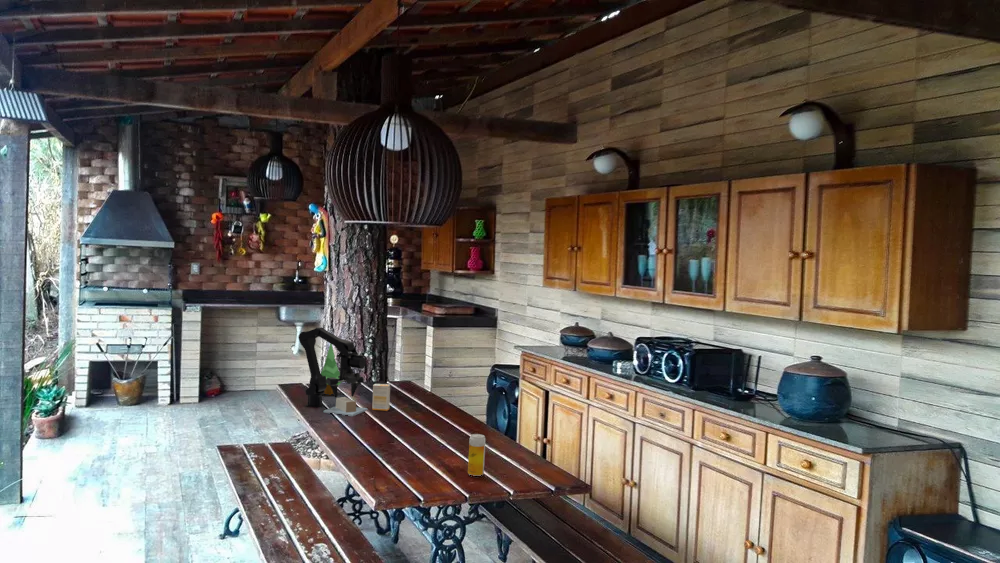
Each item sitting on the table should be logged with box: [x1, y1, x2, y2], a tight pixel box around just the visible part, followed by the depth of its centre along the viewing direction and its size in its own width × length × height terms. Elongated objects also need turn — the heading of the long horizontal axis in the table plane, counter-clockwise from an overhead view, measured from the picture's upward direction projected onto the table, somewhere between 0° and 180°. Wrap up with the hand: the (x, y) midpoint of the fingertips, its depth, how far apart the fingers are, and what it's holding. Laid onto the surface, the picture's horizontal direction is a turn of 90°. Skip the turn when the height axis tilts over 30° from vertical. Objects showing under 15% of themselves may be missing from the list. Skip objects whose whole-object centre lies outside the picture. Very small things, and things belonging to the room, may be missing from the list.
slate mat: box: [323, 405, 369, 417], centre depth 367 cm, size 16×16×1 cm
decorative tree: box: [320, 343, 343, 396], centre depth 406 cm, size 14×16×30 cm
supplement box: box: [371, 383, 391, 412], centre depth 375 cm, size 8×5×13 cm, turn 84°
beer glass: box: [467, 433, 487, 477], centre depth 274 cm, size 6×6×15 cm
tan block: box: [335, 396, 357, 412], centre depth 367 cm, size 5×5×12 cm
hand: (344, 397), depth 368 cm, fingers open, 9 cm apart
